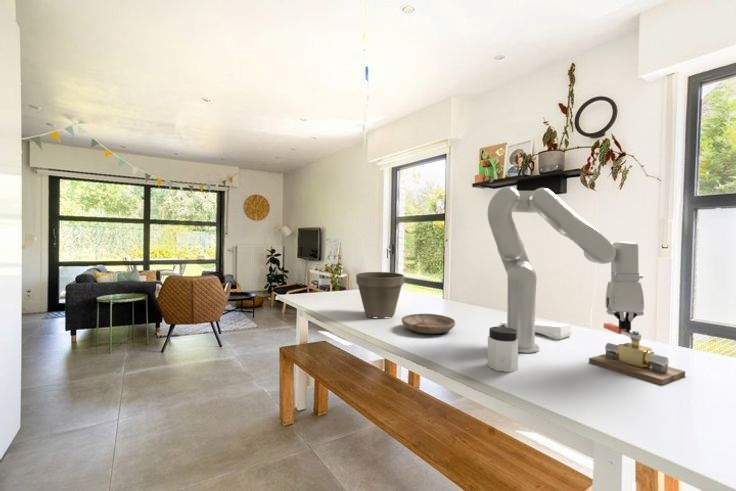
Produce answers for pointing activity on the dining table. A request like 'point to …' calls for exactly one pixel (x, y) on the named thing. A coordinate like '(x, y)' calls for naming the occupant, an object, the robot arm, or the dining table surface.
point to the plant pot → (379, 292)
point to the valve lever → (622, 331)
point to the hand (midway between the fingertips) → (624, 332)
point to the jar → (503, 349)
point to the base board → (638, 370)
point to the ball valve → (637, 356)
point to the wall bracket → (551, 329)
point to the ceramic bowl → (428, 323)
